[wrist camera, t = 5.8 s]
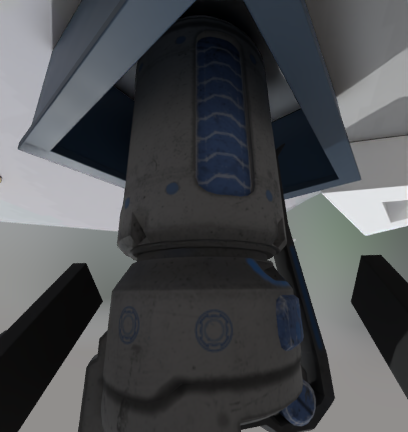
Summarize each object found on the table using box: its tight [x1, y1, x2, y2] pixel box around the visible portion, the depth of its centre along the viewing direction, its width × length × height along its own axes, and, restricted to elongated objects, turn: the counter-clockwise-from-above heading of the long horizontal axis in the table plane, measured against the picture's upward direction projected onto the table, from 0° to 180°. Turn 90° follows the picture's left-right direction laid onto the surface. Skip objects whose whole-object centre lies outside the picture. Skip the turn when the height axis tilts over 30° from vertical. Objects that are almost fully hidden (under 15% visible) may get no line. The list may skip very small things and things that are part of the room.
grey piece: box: [78, 15, 335, 432], centre depth 15 cm, size 10×13×25 cm
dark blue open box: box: [18, 0, 361, 200], centre depth 18 cm, size 19×16×9 cm
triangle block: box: [321, 135, 408, 236], centre depth 31 cm, size 30×26×6 cm
